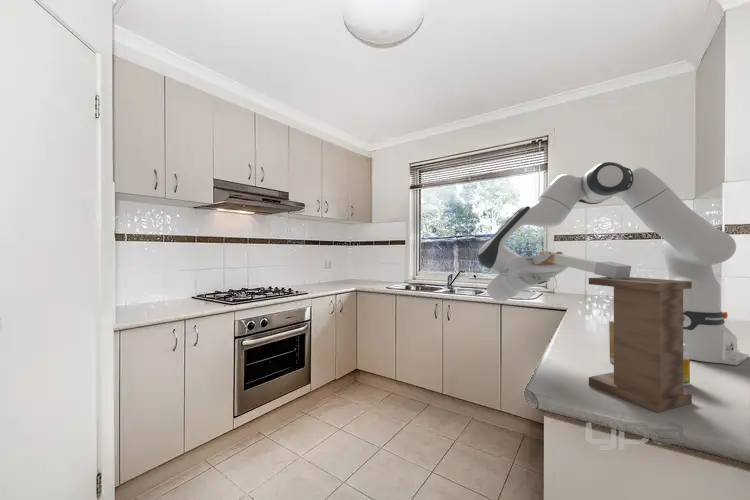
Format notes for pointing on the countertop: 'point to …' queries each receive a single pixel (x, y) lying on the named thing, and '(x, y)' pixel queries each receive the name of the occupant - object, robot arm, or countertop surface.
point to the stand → (646, 343)
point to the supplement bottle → (686, 367)
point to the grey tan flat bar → (592, 266)
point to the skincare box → (611, 340)
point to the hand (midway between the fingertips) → (555, 253)
